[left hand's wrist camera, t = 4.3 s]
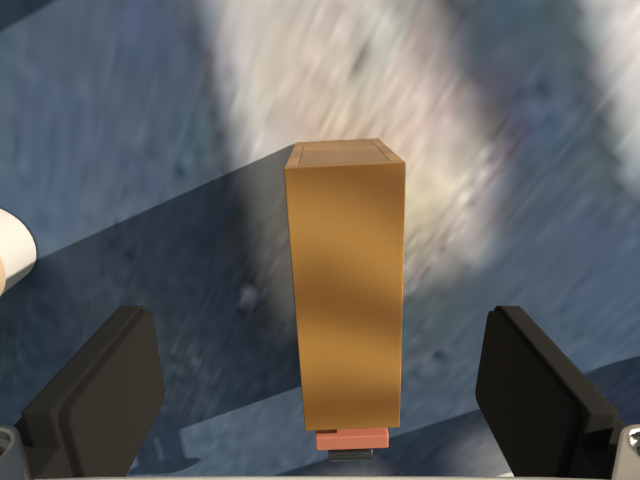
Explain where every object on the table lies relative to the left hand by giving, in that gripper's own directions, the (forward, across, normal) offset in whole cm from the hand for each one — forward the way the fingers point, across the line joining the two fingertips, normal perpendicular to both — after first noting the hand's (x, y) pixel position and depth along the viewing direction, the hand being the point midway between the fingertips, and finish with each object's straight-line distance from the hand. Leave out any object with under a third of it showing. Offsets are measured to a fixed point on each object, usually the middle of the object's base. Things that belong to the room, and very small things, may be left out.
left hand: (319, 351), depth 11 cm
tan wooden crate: (+23, -2, +6) cm, 24 cm away
